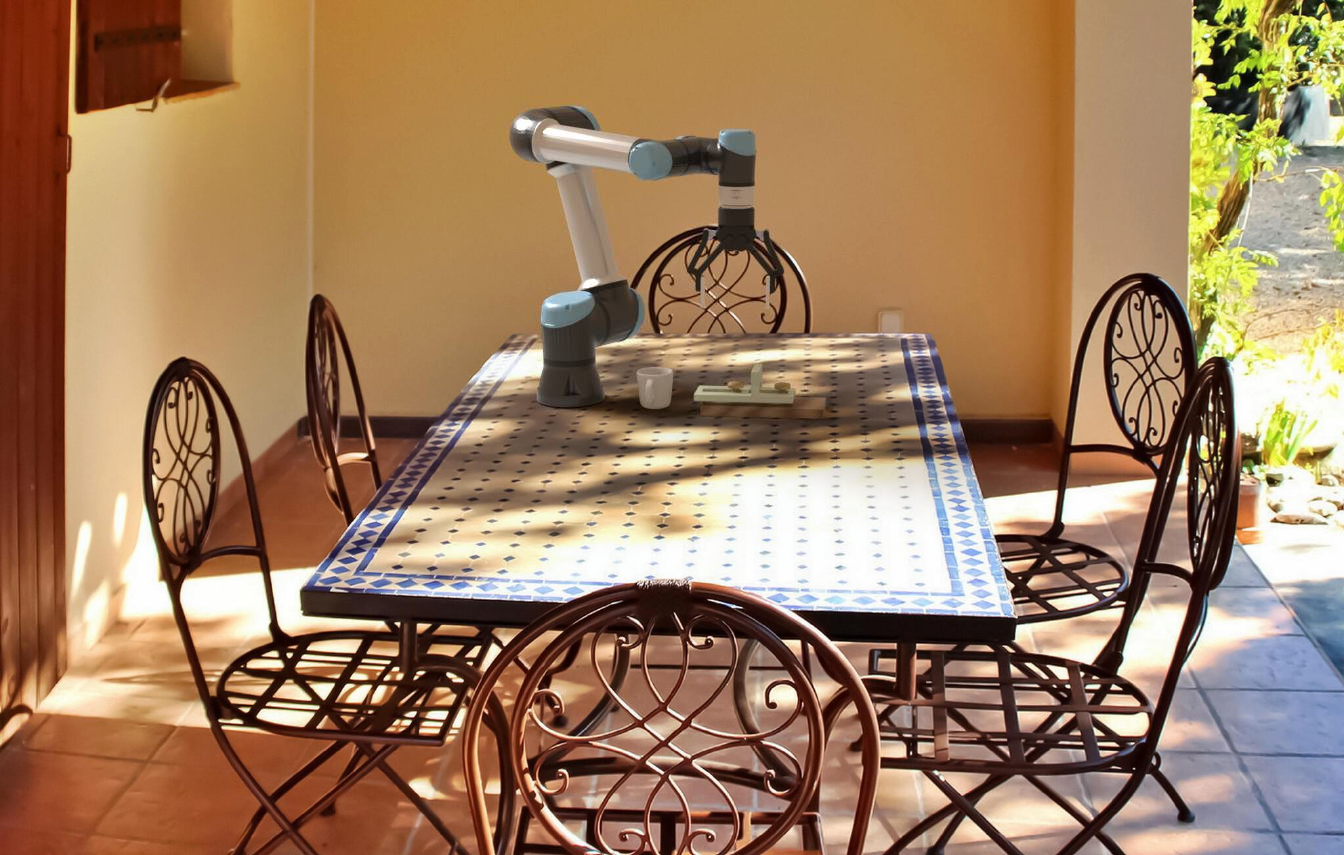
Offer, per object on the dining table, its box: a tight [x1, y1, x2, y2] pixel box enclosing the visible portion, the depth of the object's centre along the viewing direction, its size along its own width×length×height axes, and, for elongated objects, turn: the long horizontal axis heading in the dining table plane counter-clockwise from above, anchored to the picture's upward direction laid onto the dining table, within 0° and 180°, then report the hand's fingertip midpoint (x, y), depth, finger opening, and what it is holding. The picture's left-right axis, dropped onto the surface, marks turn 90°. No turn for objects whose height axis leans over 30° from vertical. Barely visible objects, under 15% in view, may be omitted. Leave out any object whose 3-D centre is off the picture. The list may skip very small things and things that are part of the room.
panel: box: [693, 363, 797, 403], centre depth 307 cm, size 21×8×7 cm, turn 81°
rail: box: [699, 380, 827, 420], centre depth 308 cm, size 26×10×6 cm, turn 81°
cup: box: [636, 366, 674, 410], centre depth 311 cm, size 11×8×8 cm
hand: (735, 307), depth 302 cm, fingers open, 13 cm apart
